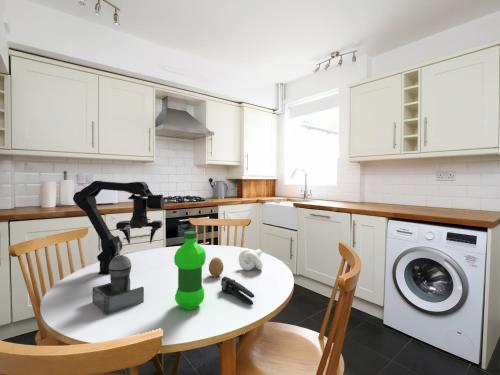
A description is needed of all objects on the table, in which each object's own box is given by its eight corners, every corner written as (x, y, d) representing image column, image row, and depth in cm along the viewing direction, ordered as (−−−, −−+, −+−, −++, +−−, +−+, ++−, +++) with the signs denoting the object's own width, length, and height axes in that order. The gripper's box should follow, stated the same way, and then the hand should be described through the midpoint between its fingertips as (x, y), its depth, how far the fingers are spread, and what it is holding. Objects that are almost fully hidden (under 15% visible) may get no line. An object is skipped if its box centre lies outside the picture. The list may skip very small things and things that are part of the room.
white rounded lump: (246, 262, 134) (246, 245, 133) (268, 266, 128) (268, 248, 128) (236, 269, 124) (236, 250, 123) (259, 274, 118) (259, 254, 118)
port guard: (128, 290, 98) (128, 277, 98) (143, 301, 90) (143, 287, 90) (92, 301, 89) (92, 287, 89) (105, 314, 81) (105, 299, 81)
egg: (224, 273, 118) (224, 255, 118) (222, 279, 112) (222, 260, 111) (210, 273, 118) (210, 255, 118) (207, 278, 112) (207, 259, 112)
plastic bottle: (199, 315, 82) (200, 236, 81) (168, 311, 84) (168, 234, 83) (209, 300, 92) (210, 230, 91) (181, 297, 93) (182, 228, 93)
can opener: (216, 290, 101) (216, 276, 100) (231, 286, 105) (231, 272, 105) (244, 308, 87) (244, 292, 87) (260, 302, 91) (260, 286, 91)
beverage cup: (114, 307, 85) (114, 246, 85) (104, 300, 90) (104, 243, 89) (135, 299, 91) (135, 242, 90) (125, 293, 95) (125, 239, 95)
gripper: (111, 211, 108) (111, 248, 109) (158, 211, 111) (158, 247, 112) (120, 208, 119) (120, 242, 120) (162, 208, 122) (162, 241, 123)
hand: (140, 243), depth 118 cm, fingers open, 9 cm apart
